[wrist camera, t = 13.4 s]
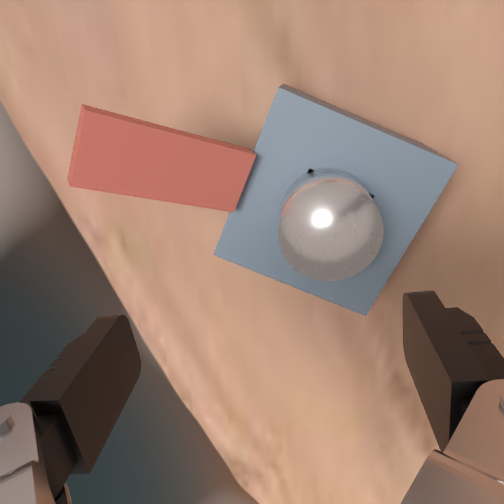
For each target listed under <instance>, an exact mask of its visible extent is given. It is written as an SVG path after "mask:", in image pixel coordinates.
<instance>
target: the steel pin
mask: <svg viewBox="0 0 504 504" xmlns="http://www.w3.org/2000/svg"><path fill="white" fill-rule="evenodd" d="M383 235H384V227H383V220H382V217H381V214H380V212H379V210H378V208H377V206H376V204H375V203H374V201H373V199H372V198H371V196H370V194H369V192H368V191H367V189H366V187H365V186H364V185H363V183H362V182H361V181H360V180H359V179H357V178H356V177H355V176H353V175H352V174H350V173H348V172H346V171H343V170H339V169H333V168H323V169H317V170H313V169H310V170H308V172H307V173H306V174H304V175H303V176H301V177H300V178H298V179H297V180H296V181H295V182H294V183H293V184H292V185H291V186H290V187H289V189H288V190H287V192H286V194H285V196H284V199H283V201H282V206H281V212H280V220H279V227H278V241H279V245H280V248H281V251H282V253H283V255H284V257H285V259H286V260H287V261H288V263H289V264H290V265H291V266H292V267H293V268H294V269H295V270H297V271H298V272H300V273H301V274H303V275H305V276H307V277H310V278H313V279H316V280H322V281H336V280H342V279H346V278H349V277H351V276H354V275H355V274H357V273H359V272H361V271H362V270H363V269H365V268H366V267H367V266H368V265H369V264H370V263H371V262H372V261H373V260H374V258H375V257H376V255H377V254H378V252H379V250H380V247H381V244H382V241H383Z"/></svg>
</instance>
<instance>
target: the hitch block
mask: <svg viewBox="0 0 504 504" xmlns="http://www.w3.org/2000/svg"><path fill="white" fill-rule="evenodd" d="M253 153H255V154H256V157H255V160H254V162H253V165H252V167H251V170H250V172H249V175H248V178H247V180H246V183H245V185H244V188H243V190H242V193H241V195H240V198H239V200H238V203H237V206H236V208H235V211H234V212H230V213H229V216H228V219H227V221H226V224H225V226H224V229H223V231H222V234H221V237H220V239H219V242H218V244H217V247H216V249H215V252H214V255H215V256H218V257H220V258H223V259H225V260H228V261H230V262H233V263H235V264H238V265H240V266H243V267H245V268H248V269H250V270H253V271H255V272H257V273H260V274H262V275H265V276H267V277H270V278H272V279H275V280H277V281H280V282H282V283H285V284H287V285H290V286H292V287H295V288H297V289H300V290H302V291H305V292H307V293H310V294H312V295H315V296H317V297H320V298H322V299H325V300H327V301H330V302H332V303H335V304H337V305H340V306H342V307H345V308H347V309H350V310H352V311H355V312H357V313H360V314H362V315H365V316H366V314H367V313H368V311H369V310H370V308H371V306H372V305H373V303H374V301H375V300H376V298H377V297H378V295H379V293H380V292H381V290H382V288H383V287H384V285H385V284H386V282H387V280H388V279H389V277H390V275H391V274H392V272H393V271H394V269H395V267H396V266H397V264H398V262H399V261H400V259H401V258H402V256H403V254H404V253H405V251H406V249H407V248H408V246H409V245H410V243H411V241H412V240H413V238H414V236H415V235H416V233H417V232H418V230H419V228H420V227H421V225H422V223H423V222H424V220H425V219H426V217H427V215H428V214H429V212H430V210H431V209H432V207H433V206H434V204H435V202H436V201H437V199H438V197H439V196H440V194H441V193H442V191H443V189H444V188H445V186H446V184H447V183H448V181H449V179H450V178H451V176H452V175H453V173H454V171H455V170H456V168H457V166H458V164H457V163H455V162H453V161H451V160H450V159H448V158H446V157H444V156H443V155H441V154H439V153H438V152H436V151H434V150H432V149H431V148H429V147H427V146H425V145H424V144H422V143H419V142H417V141H415V140H412V139H410V138H408V137H405V136H403V135H401V134H398V133H396V132H394V131H391V130H389V129H387V128H384V127H382V126H380V125H377V124H375V123H373V122H370V121H368V120H366V119H363V118H361V117H359V116H356V115H354V114H352V113H349V112H347V111H345V110H342V109H340V108H338V107H335V106H333V105H331V104H329V103H326V102H324V101H322V100H319V99H317V98H315V97H312V96H310V95H308V94H305V93H303V92H301V91H298V90H296V89H294V88H291V87H289V86H287V85H284V84H283V85H281V86H280V87H278V90H277V92H276V95H275V98H274V100H273V103H272V105H271V108H270V110H269V113H268V116H267V118H266V121H265V123H264V126H263V128H262V131H261V134H260V136H259V139H258V141H257V144H256V146H255V149H254V152H253ZM309 168H310V169H313V170H317V169H323V168H333V169H339V170H343V171H346V172H348V173H350V174H352V175H353V176H355V177H356V178H357V179H359V180H360V181H361V182H362V183H363V185H364V186H365V187H366V189H367V191H368V192H369V194H370V196H371V198H372V199H373V201H374V203H375V204H376V206H377V208H378V210H379V212H380V214H381V217H382V220H383V227H384V235H383V241H382V244H381V247H380V250H379V252H378V254H377V255H376V257H375V258H374V260H373V261H372V262H371V263H370V264H369V265H368V266H367V267H366V268H365V269H363V270H362V271H361V272H359V273H357V274H355V275H354V276H351V277H349V278H346V279H342V280H336V281H322V280H316V279H313V278H310V277H307V276H305V275H303V274H301V273H300V272H298V271H297V270H295V269H294V268H293V267H292V266H291V265H290V264H289V263H288V261H287V260H286V259H285V257H284V255H283V253H282V251H281V248H280V245H279V241H278V227H279V220H280V212H281V206H282V201H283V199H284V196H285V194H286V192H287V190H288V189H289V187H290V186H291V185H292V184H293V183H294V182H295V181H296V180H297V179H298V178H300V177H301V176H303V175H304V174H306V173H307V172H308V170H309Z"/></svg>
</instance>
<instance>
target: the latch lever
mask: <svg viewBox="0 0 504 504" xmlns="http://www.w3.org/2000/svg"><path fill="white" fill-rule="evenodd" d="M255 157H256V154H255V153H253V152H252V151H251V150H250V149H247V148H243V147H240V146H236V145H232V144H228V143H225V142H221V141H217V140H213V139H210V138H206V137H202V136H199V135H195V134H191V133H187V132H184V131H180V130H176V129H172V128H169V127H165V126H161V125H158V124H154V123H150V122H146V121H143V120H139V119H135V118H131V117H128V116H124V115H120V114H116V113H113V112H109V111H105V110H102V109H98V108H94V107H90V106H87V105H83V104H82V106H81V111H80V116H79V121H78V127H77V132H76V137H75V142H74V147H73V152H72V157H71V162H70V167H69V172H68V178H67V179H68V182H69V186H71V187H77V188H83V189H90V190H96V191H102V192H109V193H115V194H122V195H128V196H134V197H141V198H147V199H153V200H160V201H166V202H172V203H179V204H185V205H191V206H198V207H204V208H210V209H217V210H223V211H229V212H234V211H235V208H236V206H237V203H238V200H239V198H240V195H241V193H242V190H243V188H244V185H245V183H246V180H247V178H248V175H249V172H250V170H251V167H252V165H253V162H254V160H255Z"/></svg>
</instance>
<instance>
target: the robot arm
mask: <svg viewBox="0 0 504 504" xmlns="http://www.w3.org/2000/svg"><path fill="white" fill-rule="evenodd" d="M403 346H404V353H405V358H406V362H407V365H408V368H409V370H410V373H411V375H412V378H413V381H414V383H415V386H416V388H417V391H418V393H419V396H420V399H421V401H422V404H423V406H424V409H425V412H426V414H427V417H428V419H429V422H430V424H431V427H432V430H433V432H434V435H435V437H436V440H437V442H438V445H439V448H440V450H441V451H438V450H433V451H432V452H431V453H430V454H429V456H428V457H427V459H426V460H425V462H424V464H423V466H422V467H421V469H420V471H419V473H418V474H417V476H416V478H415V480H414V481H413V483H412V485H411V487H410V488H409V490H408V492H407V494H406V495H405V497H404V499H403V501H402V502H401V504H504V358H503V357H502V355H501V354H500V353H499V351H498V350H497V349H496V347H495V346H494V345H493V344H491V340H490V339H489V338H488V336H487V335H486V334H485V333H483V330H482V328H481V327H480V325H479V324H478V323H477V321H476V320H475V319H474V318H473V317H472V316H470V315H469V314H467V313H465V312H464V311H462V310H461V309H459V308H445V307H444V305H443V304H442V302H441V301H440V299H439V298H438V296H437V295H436V293H435V292H434V291H423V292H411V293H404V295H403ZM140 370H141V361H140V356H139V352H138V349H137V346H136V342H135V339H134V336H133V333H132V329H131V326H130V323H129V320H128V318H127V317H126V316H125V315H113V316H101V317H98V318H97V319H96V320H95V321H94V322H93V324H92V325H91V326H90V327H89V329H88V330H87V331H86V332H85V333H84V334H82V335H81V336H79V337H78V338H76V339H75V340H74V341H72V342H71V343H69V344H68V345H67V346H66V347H65V348H64V350H63V351H62V352H61V353H60V354H59V355H58V357H57V360H54V362H53V363H52V364H51V365H50V366H49V370H46V371H45V372H44V374H43V375H42V376H41V377H40V378H39V379H38V381H37V382H36V383H35V384H34V385H33V387H32V388H31V389H30V390H29V391H28V392H27V394H26V395H25V396H24V397H23V398H22V400H21V401H20V402H19V403H12V404H7V405H4V406H1V407H0V504H72V503H71V499H70V494H69V490H68V488H67V485H66V483H65V482H66V480H67V478H68V477H69V475H70V474H86V473H87V474H88V473H90V472H91V470H92V468H93V466H94V464H95V462H96V460H97V458H98V456H99V454H100V452H101V450H102V448H103V447H104V445H105V443H106V441H107V439H108V437H109V435H110V433H111V431H112V429H113V427H114V425H115V423H116V421H117V419H118V417H119V415H120V413H121V411H122V409H123V408H124V405H125V404H126V402H127V400H128V398H129V396H130V394H131V392H132V390H133V388H134V386H135V384H136V382H137V380H138V378H139V375H140Z"/></svg>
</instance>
